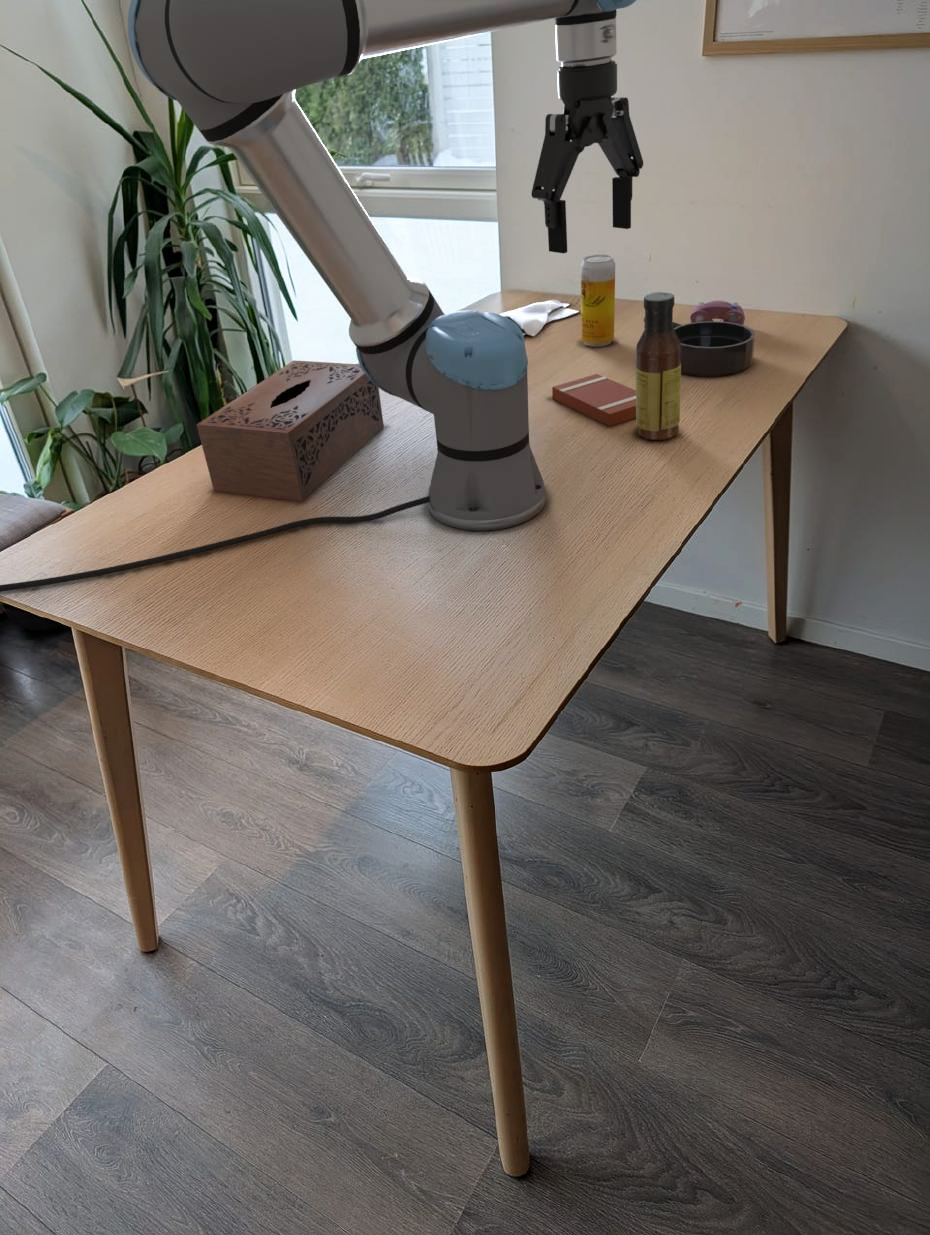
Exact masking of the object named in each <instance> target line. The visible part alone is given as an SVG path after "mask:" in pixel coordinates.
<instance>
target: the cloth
mask: <svg viewBox="0 0 930 1235" xmlns="http://www.w3.org/2000/svg"><path fill="white" fill-rule="evenodd" d="M569 306H571V304H570V303H567V302H561V301H560V300H558V299H548V300H545V301H542V302H534V303H531V304H528V305H525V306H523V307H519V308H517V309H513V310H512V309H511V310H508V311H504V312H502V313H499V315H501V316H504V317H506V318H508V319H510V320H511V321H513V322H514V323H515V324H516V325H517V326H518V327H519V328H520V329H521V331H522V333H523V336H524V337H525V336H526V335H528V336H530V337H533V338H535V336H537V334H538V333H540V332H541V330H542V329H543V327H544V326H545V325H546V324H548V323H551V322H552V321H557V320H558V321H559V320H561V319H565V318H567V317H570V316H573V315H575V314H578V313H580V311H579V310H576V309H572V308H567V307H569Z"/></svg>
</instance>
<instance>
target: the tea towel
mask: <svg viewBox="0 0 930 1235" xmlns="http://www.w3.org/2000/svg"><path fill="white" fill-rule="evenodd" d="M551 390H552V400H555V401H556V402H559V403H561V404H563V405H565V406H566V407H569V408H571V409H572V410H574V411H577V412H579V413H581V414H583V415H585V416H587V417H589V418H591V419H593V420H595V421H598V422H600V423H602V424H604V425H606V426H608V427H612V426H615V425H618V424H622V423H624V422H627V421H630V420H633V419H636V389H633V388H631V387H629V386H627V385H624V384H622V383H620V382H617V381H615V380H612V379H610V378H609V377H606V376H603V375H600V374H598V373H595V374H591V375H587V376H585V377H581V378H577V379H575V380H571V381H567V382H564V383H561V384H557V385H554V386H552V387H551Z"/></svg>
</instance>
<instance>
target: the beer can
mask: <svg viewBox="0 0 930 1235" xmlns="http://www.w3.org/2000/svg"><path fill="white" fill-rule="evenodd" d="M615 301H616V262H615V260H614V256H612V255H610V254H592V255H588V256H584V257H583V258H582V262H581V265H580V340H581V341H582V342H583V344H584V345H585V346H587V347H595V348H600V347H604V346H609V345H610V344H611V343H612V341H613V340H614V339H615V310H616V309H615V308H616V306H615V304H616V302H615Z"/></svg>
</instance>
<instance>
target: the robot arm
mask: <svg viewBox="0 0 930 1235" xmlns="http://www.w3.org/2000/svg"><path fill="white" fill-rule="evenodd" d="M636 1H637V0H130V3H129V6H128V12H127V35H128V42H129V46H130V50H131V52H132V55H133V59H134V60H135V62H136V64H137V66H138V68H139V70H140V71H141V73H142V75H144V77H145V78H146V79H147V80H148V82H149V83H150V84H151V85H153V87H155V88H156V89H157V90H158V91H159V92H160V93H162V94H163V95H164V96H165V97H166V98H167V97H168V98H169V99H171V100H173V101H176V102H177V103H178V105H180V107H181V108H182V110H183V111H184V113H185V114H186V115H187V117H188V118H189V119H190V121H191V122H192V124H193V125H194V126H195V127H196V129H197V130H198V131H199V133H200V134H201V135H202V136H203V138H204V139H205V141H206V142H207V143H208V144H209V145H213V146H219V147H224V148H227V149H229V150H230V151H231V153H232V154H233V155H234V158H236V160H237V161H238V162H239V164H240V165H241V166H242V168H243V169H244V171H245V172H246V174H247V175H248V177H249V178H250V179H251V181H252V182H253V183H254V185H255V186H256V188H257V189H258V191H259V192H260V193H261V195H262V196H263V197H264V198H265V200H266V202H267V203H268V205H269V206H270V207H271V209H272V210H273V212H274V213H275V214H276V216H277V217H278V218H279V220H280V221H281V223H282V224H283V225H284V226H285V229H286V230H287V231H288V233H289V234H290V236H291V237H292V238H293V239H294V241H295V242H296V244H297V245H298V246H299V248H300V250H301V251H302V252H303V254H304V255H305V256H306V258H307V259H308V260H309V262H310V263H311V265H312V266H313V268H314V269H315V271H316V272H317V273H318V275H319V276H320V278H321V279H322V281H324V283H325V284H326V286H327V287H328V289H329V290H330V292H331V293H332V294H333V296H334V297H335V299H336V300H337V301H338V303H339V304H340V305H341V307H342V308H343V309H344V311H345V313H346V314H347V315H348V317H349V318H350V322H349V327H348V336H349V338H350V340H351V342H352V343H353V344H354V346H355V353H356V359H357V361H358V364H360V366H361V368H362V370H363V371H364V373H365V374H366V376H367V377H368V378H369V379H370V380H371V381H372V382H373V383H374V384H375V385H376V386H377V387H379V390H381V391H382V392H384V393H386V394H389V395H391V396H393V397H397V398H400V399H402V400H403V401H406V402H408V403H410V404H412V405H414V406H415V407H418V408H420V409H422V410H423V411H426V412H428V413H430V414H432V415H433V419H434V429H435V438H436V448H437V453H436V458H435V461H434V467H433V469H432V470H433V471H432V475H431V479H430V484H429V487H428V494H427V495H426V496H424V497H420V498H416V499H414V500H411V501H407V502H404V503H401V504H398V505H395V506H392V507H389V508H386V509H384V510H381V511H378V512H375V513H370V514H363V515H355V516H318V517H312V518H305V519H301V520H296V521H292V522H288V523H284V524H282V525H278V526H274V527H271V528H267V529H263V530H259V531H256V532H252V533H248V534H244V535H241V536H237V537H233V538H229V539H224V540H221V541H217V542H213V543H209V544H204V545H201V546H197V547H193V548H188V549H185V550H180V551H176V552H171V553H166V554H164V555H159V556H155V557H151V558H146V559H142V560H136V561H132V562H127V563H122V564H119V565H113V566H109V567H103V568H99V569H94V570H88V571H83V572H77V573H70V574H66V575H60V576H53V577H47V578H40V579H34V580H28V581H19V582H13V583H5V584H0V593H3V592H10V591H16V590H25V589H32V588H38V587H45V586H51V585H57V584H63V583H68V582H69V583H70V582H74V581H75V582H76V581H81V580H85V579H91V578H97V577H101V576H107V575H111V574H117V573H120V572H121V573H122V572H125V571H131V570H134V569H139V568H144V567H149V566H153V565H157V564H162V563H166V562H170V561H173V560H174V561H175V560H178V559H183V558H186V557H190V556H195V555H199V554H202V553H206V552H211V551H214V550H219V549H222V548H223V549H224V548H227V547H231V546H234V545H238V544H242V543H247V542H250V541H254V540H257V539H261V538H266V537H269V536H272V535H276V534H279V533H283V532H286V531H289V530H293V529H298V528H302V527H306V526H307V527H308V526H313V525H318V524H319V525H320V524H321V525H322V524H357V523H366V522H371V521H372V522H373V521H376V520H379V519H382V518H385V517H388V516H391V515H393V514H396V513H399V512H402V511H405V510H408V509H412V508H415V507H419V506H421V505H425V504H428V507H429V512H430V513H431V516H433V518H434V519H436V520H437V521H438V522H440V523H442V524H444V525H446V526H448V527H452V528H456V529H459V530H467V531H494V530H501V529H506V528H510V527H515V526H518V525H520V524H523V523H525V522H527V521H529V520H531V519H532V518H534V517H536V516H537V515H538V514H539V513H541V511H542V510H543V508H544V507H545V505H546V487H545V482H544V479H543V476H542V474H541V471H540V469H539V465H538V464H537V461H536V459H535V455H534V454H533V450H532V448H531V445H530V426H529V425H530V424H529V423H530V422H529V421H530V420H529V384H528V382H529V381H528V364H529V359H528V354H527V349H526V342H525V335H524V336H523V333H522V331H521V329H520V328H519V327H518V326H517V325H516V324H515V323H514V322H513V321H511V320H510V319H508V318H506V317H504V316H501V315H500V313H499V314H498V313H495V312H490V311H484V312H479V311H478V310H459V311H453V312H449V313H446V314H445V312H444V311H443V310H442V307H440V305H439V303H438V302H437V300H436V298H435V297H434V295H433V293H432V292H431V290H430V288H429V287H428V285H427V284H426V283H425V282H424V280H421V279H418V278H412V277H408V276H407V275H406V273H405V272H404V270H403V269H402V267H401V265H400V264H399V263H398V261H397V260H396V258H395V256H394V254H393V253H392V251H391V250H390V248H389V246H388V244H387V243H386V242H385V240H384V238H383V237H382V235H381V233H380V232H379V231H378V229H377V227H376V225H375V224H374V223H373V220H371V218H370V216H369V215H368V213H367V211H366V210H365V208H364V207H363V204H362V203H361V202H360V201H359V199H358V197H357V195H356V194H355V193H354V191H353V189H352V188H351V186H350V184H349V183H348V181H347V179H346V178H345V176H344V175H343V173H342V171H341V170H340V168H339V167H338V165H337V163H336V162H335V160H334V159H333V157H332V155H331V154H330V153H329V151H328V149H327V147H326V146H325V145H324V143H323V142H322V139H321V138H320V136H319V135H318V133H317V132H316V130H315V128H314V127H313V125H312V123H311V122H310V120H309V119H308V117H307V116H306V114H305V113H304V111H303V110H302V109H303V108H301V106H300V105H299V104H298V102H297V99H296V90H299V89H302V88H306V87H309V86H311V85H314V84H318V83H321V82H325V81H328V80H332V79H336V78H342V77H346V76H349V75H352V74H353V73H354V72H355V71H356V69H358V66H359V64H360V62H361V60H364V59H368V58H373V57H379V56H384V55H387V54H393V53H398V52H402V51H406V50H411V49H416V48H421V47H425V46H426V47H427V46H431V45H436V44H440V43H445V42H450V41H454V40H459V39H463V38H469V37H474V36H479V35H483V34H487V33H492V32H497V31H502V30H506V29H507V30H508V29H512V28H516V27H517V28H518V27H520V26H526V25H530V24H535V23H540V22H544V21H550V20H554V26H555V51H556V52H555V55H556V57H555V58H556V61H557V62H558V63H560V64H561V65H560V66H559V67H558V69H557V70H556V73H557V75H556V76H557V77H556V78H557V96H558V99H559V100H560V101H561V102H562V103H563V110H562V111H563V112H562V113H548V114H547V115H546V116H545V120H544V121H545V123H544V124H545V125H544V138H543V142H542V147H541V151H540V156H539V158H538V164H537V166H536V167H537V168H536V172H535V175H534V181H533V185H532V189H531V198H532V199H535V200H536V199H537V200H538V201H542V202H543V206H544V207H543V208H544V225H545V227H546V228H547V237H548V240H547V242H548V252H552V253H557V254H566V253H568V231H567V204H566V203H567V202H566V200H565V199H562V197H563V193H564V191H565V189H566V187H567V184H568V182H569V179H570V176H571V174H572V172H573V170H574V168H575V165H576V162H577V160H578V158H579V155H580V154H581V153H583V152H584V150H585V148H587V147H590V146H592V145H594V144H598V146H599V147H600V149H601V151H602V152H603V154H604V156H605V158H606V159H607V161H608V163H609V164H610V165H611V168H612V169H613V171H614V172H615V174H616V175H617V176H615V177H612V178H611V180H612V181H611V182H612V184H611V185H612V186H611V187H612V188H611V189H612V190H611V191H612V194H611V195H612V196H611V198H612V228H615V229H623V230H628V229H631V228H632V200H633V178H638V177H639V176H640V170H641V169H643V167H644V159H643V156H642V153H641V149H640V146H639V143H638V139H637V136H636V132H635V130H634V126H633V123H632V119H631V116H630V103H629V99H628V97H620V96H619V97H618V96H617V97H614V96H615V95H616V94H617V92H618V63H616V61H615V60H613V58H612V57H615V56H616V55H617V54H618V53H617V10H619V9H625V8H628V7H631V5H633V4H634V3H635V2H636Z"/></svg>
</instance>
